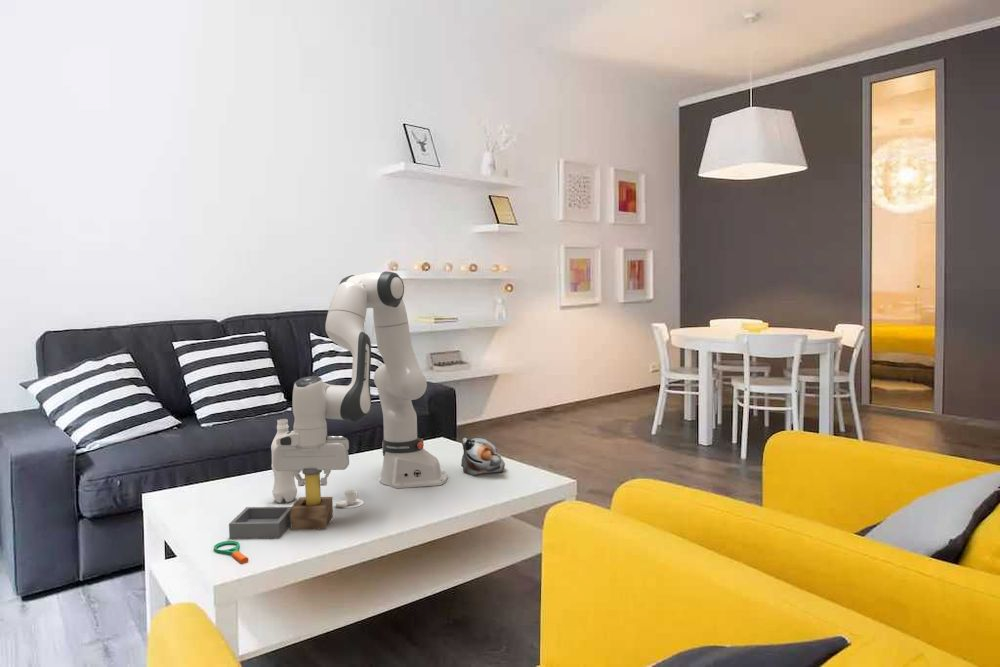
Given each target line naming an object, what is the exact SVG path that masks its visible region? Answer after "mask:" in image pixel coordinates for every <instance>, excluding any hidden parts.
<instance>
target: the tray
mask: <svg viewBox="0 0 1000 667" xmlns="http://www.w3.org/2000/svg"><path fill="white" fill-rule="evenodd" d="M291 507H292V506H246V507H245V508H244V509H243V510H242V511H241V512H239V514H238V515H236V516H235V517H234V518H233V520H231V521H230V522H229V523H228V533H229V534H228V536H229V537H228V538H229V540H236V539H237V540H239V539H240V540H242V539H244V540H245V539H250V540H252V539H280V538H281V536H282V535H283V534H284V533H285V532H286V531H287V529H288V528H289V527H290V526H291V511H290V508H291Z"/></svg>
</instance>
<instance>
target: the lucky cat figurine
mask: <svg viewBox="0 0 1000 667" xmlns="http://www.w3.org/2000/svg"><path fill="white" fill-rule="evenodd" d="M461 441H462V442H461V444H462V450H463V454H462V457H461V463H460V465H461V467H462V468H463V473H466V474H468V475H471V476H476V475H480V474H487V473H503V472H504V470H505V467H506V465H505V464H506V463H505V461H504V460H503V458H502V454H500V453H499V452H498V448H497V446H496V445H494V444H493V442H491V441H488V440H487V439H486V438H482V437H481V438H480V437H478V438H477V437H476V438H475V437H474V438H471V439H469V438H468V437H464V438H462V440H461Z"/></svg>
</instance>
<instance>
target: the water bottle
mask: <svg viewBox="0 0 1000 667" xmlns="http://www.w3.org/2000/svg"><path fill="white" fill-rule="evenodd" d="M276 422H277V425H276V434H275V436H274V438H273V440H272V443H271V445H270V450H271V470H272V472H273V477H274V482H273V488H272V497H273V498H274V500H275V502H276V503H277V504H281V503H283V501H285V503H291V502H292V501H293V500H294V501H295V499H296V497H297V494H298V488H297V485H296V481H295V476H294V474H293V471H276V470H275V469H274V466H273V460H274V451H275V449H276V447H278V445H277V444H276V440H277V438H278V437H279V436H281V435H282V434H284V433H286V432H290V431H289V427H290V426H289V424H288V419H287V418H280V419H277V421H276Z"/></svg>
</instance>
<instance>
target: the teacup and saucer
mask: <svg viewBox="0 0 1000 667" xmlns="http://www.w3.org/2000/svg"><path fill="white" fill-rule="evenodd" d="M358 496H359V492H358V491H356V490H352V489H349V490H348V489H347V490H345V491H344V499H342V500H339V501H338V500H337V501H335V503H334V506H336V507H337V508H341V509H342V508H344V509H352V508H353V509H354V508H357V507H358V508H359V506H360V507H361V506H362V505H364V503H365V502H364V500H362V499H359V498H358ZM355 502H358V504H356V505H354V504H355ZM351 505H352V506H351Z"/></svg>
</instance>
